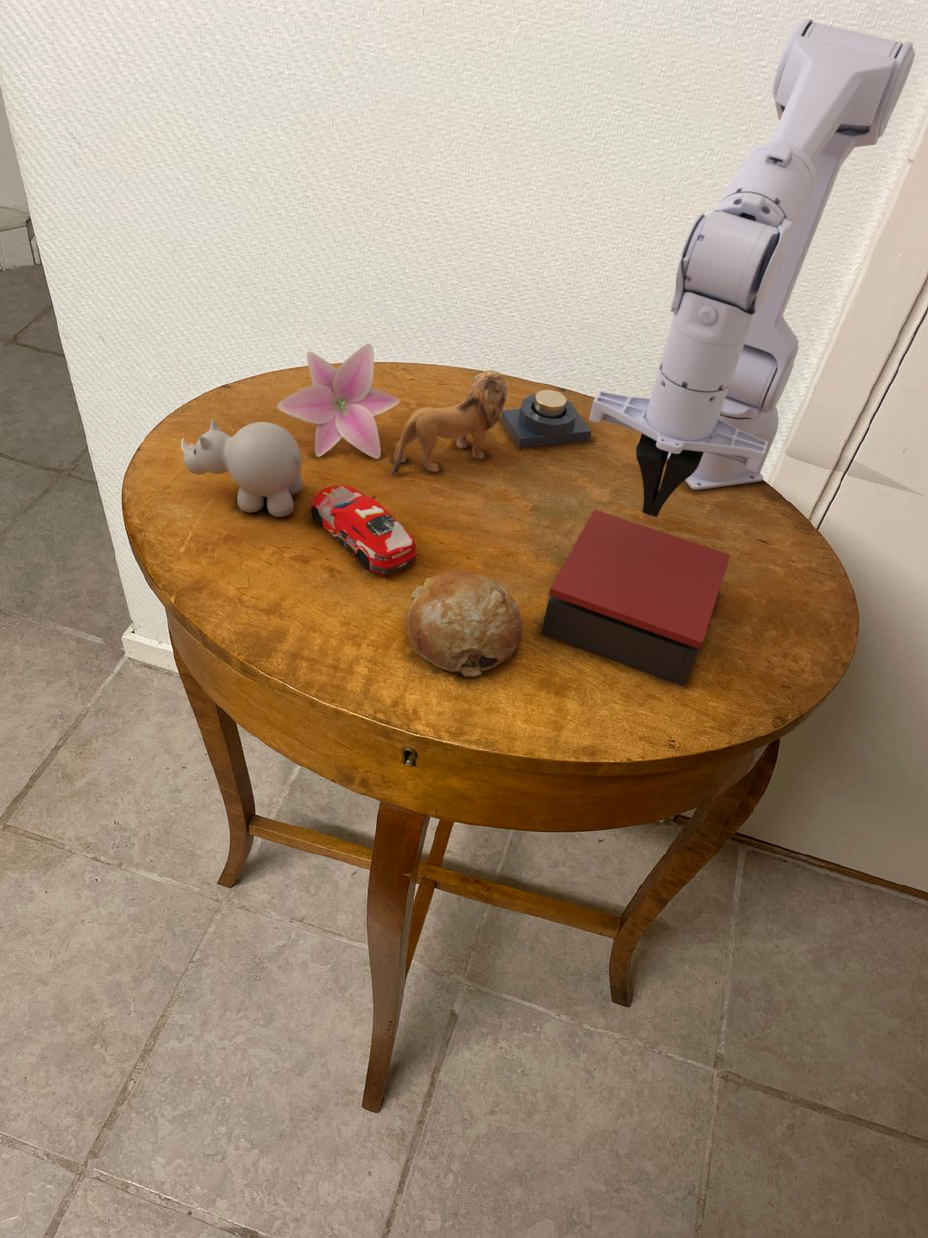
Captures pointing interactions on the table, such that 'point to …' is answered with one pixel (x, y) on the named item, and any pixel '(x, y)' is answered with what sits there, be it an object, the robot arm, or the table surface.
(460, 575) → the bread roll
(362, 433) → the lily
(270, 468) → the round bodied animal figurine
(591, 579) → the lid
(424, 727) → the table surface
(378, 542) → the race car
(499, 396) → the lion figurine
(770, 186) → the robot arm
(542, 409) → the button
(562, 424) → the control block
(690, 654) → the black open box
